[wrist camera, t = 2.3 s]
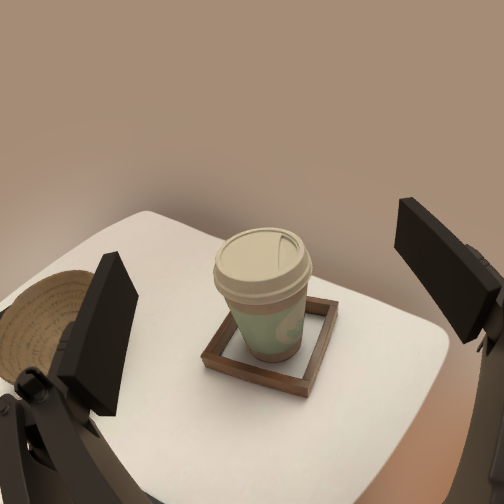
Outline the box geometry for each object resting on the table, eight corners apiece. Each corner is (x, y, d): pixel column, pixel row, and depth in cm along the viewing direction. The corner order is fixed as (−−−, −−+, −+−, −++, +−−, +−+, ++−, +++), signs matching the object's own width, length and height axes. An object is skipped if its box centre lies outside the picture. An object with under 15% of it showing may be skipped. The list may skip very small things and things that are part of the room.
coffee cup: (285, 387, 27) (271, 301, 20) (220, 350, 32) (188, 265, 25) (328, 328, 32) (329, 237, 25) (266, 302, 37) (250, 216, 30)
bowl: (160, 352, 33) (132, 303, 28) (51, 445, 22) (3, 410, 18) (96, 293, 44) (74, 252, 39) (14, 358, 33) (-17, 322, 29)
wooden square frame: (337, 313, 34) (338, 301, 33) (307, 398, 26) (307, 388, 25) (249, 296, 39) (247, 284, 37) (205, 366, 31) (200, 356, 29)
